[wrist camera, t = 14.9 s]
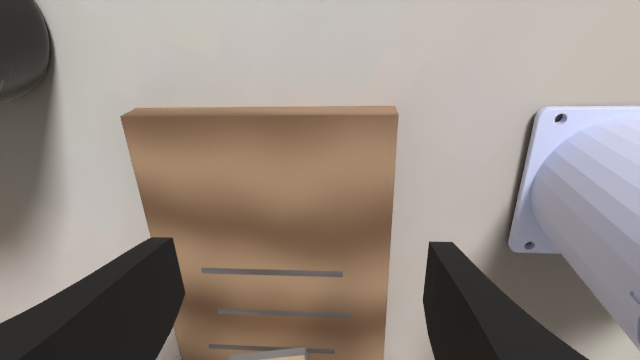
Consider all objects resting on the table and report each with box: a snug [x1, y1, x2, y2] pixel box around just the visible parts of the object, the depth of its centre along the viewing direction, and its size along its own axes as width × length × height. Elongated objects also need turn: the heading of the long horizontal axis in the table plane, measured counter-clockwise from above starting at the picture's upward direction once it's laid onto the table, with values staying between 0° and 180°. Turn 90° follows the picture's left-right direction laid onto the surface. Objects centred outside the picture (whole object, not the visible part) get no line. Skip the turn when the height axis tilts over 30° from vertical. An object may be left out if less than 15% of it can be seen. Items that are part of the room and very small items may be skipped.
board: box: [120, 106, 398, 360], centre depth 24 cm, size 24×13×2 cm, turn 1°
